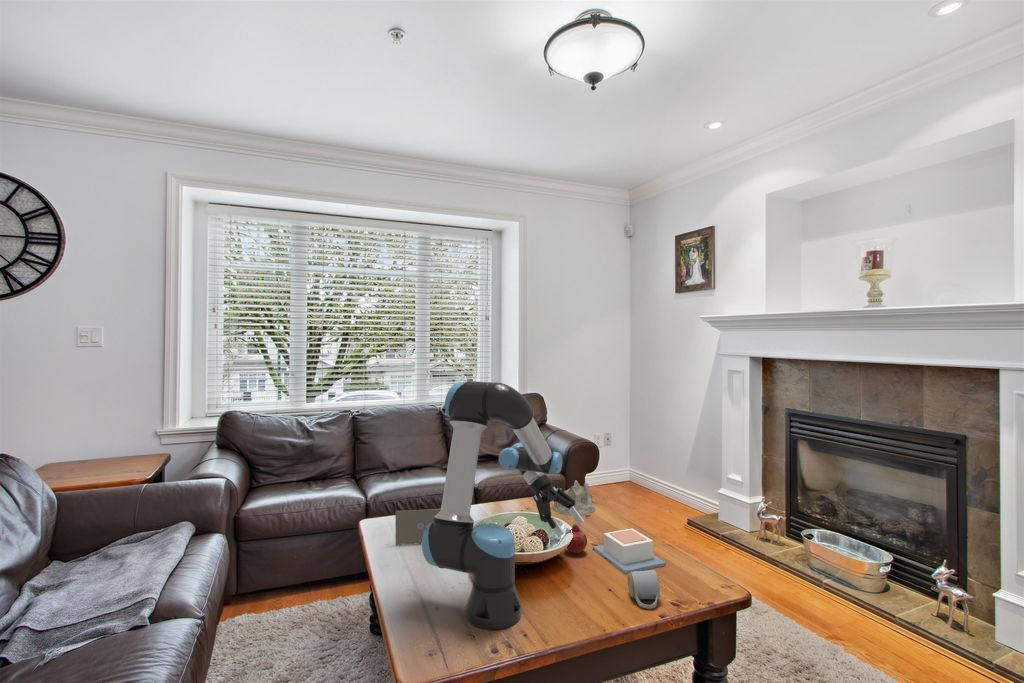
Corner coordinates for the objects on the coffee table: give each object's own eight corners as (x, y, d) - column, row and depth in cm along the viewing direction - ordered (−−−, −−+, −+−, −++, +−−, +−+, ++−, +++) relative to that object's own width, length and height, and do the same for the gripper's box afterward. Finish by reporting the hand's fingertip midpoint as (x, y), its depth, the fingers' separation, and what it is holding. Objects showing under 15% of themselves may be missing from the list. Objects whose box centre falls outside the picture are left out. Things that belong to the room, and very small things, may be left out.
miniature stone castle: (600, 511, 218) (597, 476, 218) (570, 519, 209) (568, 484, 210) (577, 503, 231) (575, 470, 232) (549, 511, 223) (546, 477, 223)
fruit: (591, 551, 178) (591, 523, 177) (580, 559, 171) (580, 530, 171) (570, 546, 182) (570, 518, 182) (560, 554, 175) (560, 525, 175)
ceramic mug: (626, 590, 150) (626, 565, 150) (653, 590, 150) (653, 565, 150) (634, 610, 139) (634, 583, 139) (664, 610, 139) (664, 583, 139)
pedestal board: (665, 565, 166) (665, 543, 166) (625, 574, 160) (625, 551, 160) (630, 542, 185) (630, 522, 185) (592, 549, 179) (592, 529, 179)
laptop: (444, 530, 198) (444, 497, 198) (445, 543, 185) (444, 508, 185) (398, 533, 195) (398, 500, 195) (395, 546, 183) (395, 511, 183)
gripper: (549, 477, 199) (582, 524, 190) (511, 493, 179) (546, 546, 170) (561, 466, 196) (595, 513, 187) (523, 481, 176) (559, 534, 167)
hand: (571, 529), depth 179 cm, fingers open, 13 cm apart
